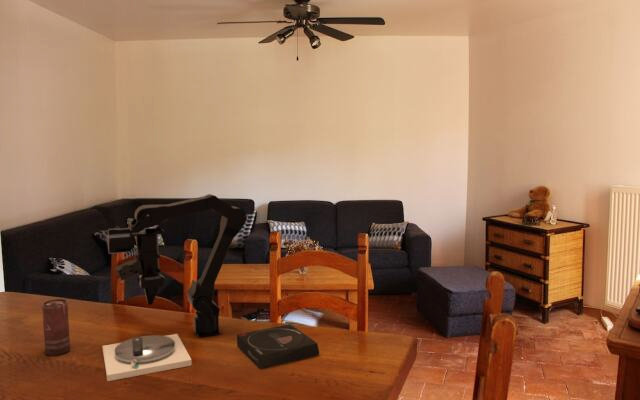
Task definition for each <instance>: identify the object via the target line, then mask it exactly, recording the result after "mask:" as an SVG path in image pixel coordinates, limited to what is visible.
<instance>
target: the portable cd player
mask: <svg viewBox="0 0 640 400" xmlns="http://www.w3.org/2000/svg"><path fill="white" fill-rule="evenodd" d="M236 345H237V346H236V348H238V349H239V350H240V351H241V352H242V353H243V354H244V355H245V356H246V357H247V358H248V359H249V361H251V362H252V363H253V364H254V365H255V366H256V368H258V369H259V370H263V369H267V368H271V367H276V366H280V365H283V363H284V364H288V363H291V362H297V361H301V360H306V359H309V358H313V357H318V356H319V354H320V349H319V345H318V342H316V341H315V340H313V338H310V337H309V336H308V335H306V334H305V333H303V332H302V331H301V330H299V329H298V328H297V327H295V326H293V325H292V324H283V325H279V326H278V325H277V326H274V327H268V328H263V329H257V330H253V331H249V332H242V333H238V334H236ZM275 365H276V366H275Z"/></svg>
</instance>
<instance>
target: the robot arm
mask: <svg viewBox="0 0 640 400" xmlns="http://www.w3.org/2000/svg"><path fill="white" fill-rule="evenodd" d="M207 210H211V211H213V212H215V213H216V214H218V215H219V216H221V219H220V222H219V233H218V236H217V238H216V241H215V242H214V245H213V246H212V247H213V248H212V249H211V250H212V251H211V253H210V255H209V257H208V259H207V262H206V264H205V266H204V269H203V271H202V274H201V276H200V277H199V278H198V279H197V280H194V279H191V284H190V286H189V288H188V290H187V291H186V293H187V300H188V302H189V304H190V305H191V307H192V308H193V309H194V310H195V312H194V313H195V317H193V331H194V333H195V334H196V335H197V336H198V338H203V337H210V336H216V335H221V331H220V325H219V324H220V322H219V320H220V319H219V313H220V309H221V308H219V306H218V305H217V304H216V302H214V300H213V299H214V295H215V294H214V293H215V285H216V284H215V283H216V281H217V278H218V276H219V274H220V271H221V269H222V266H223V264H224V261H225V260H226V257H227V254H228V252H229V250H230V247H231V245H232V243H233V240H234V238H236V236H237V235H238V234H239V233H240V232H241V231H242V228H244V227H245V226H244V225H245V224H246V223H247V219H248V217H247V214H246V212H245V211H244V209H242V208H239V207H237V206H234V205H229V204H227V203H226V202H225V201H223V200H221V199H220V198H218V196H216V195H213V194H209V193H208V194H205V195H204V196H199V197H194V198H189V199H185V200H180V201H176V202H172V203H168V204H166V203H165V204H142V205H140V206H138V207H137V208H136V209H135V211H134V218H133V219H132V221H131V222H130V223H129V225H128V226H127V227H126V228H125V227H124V228H123V227H122V228H108V229H107V232H108V233H107V237H108V239H107V251H108V255H112V254H122V253H123V254H125V253H131V250H132V251H133V249H135V248H136V253H135V254H134V256H135V258H134V259H132V260H129V261H127V262H124V263H122V264H120V265H118V266H116V267H115V271H116V272H117V275H118V277H119V279H120V281H125V280H127V278H130V277H132V276H134V275H135V276H139V278H136V281H137V282H138V285H139V287H140V289H143V291H144V294H145V298H146V302H147V304H148V306H150V305H153V304H154V301H155V299H156V296H157V293H158V292H159V290H160V289H159V288H160V287H165V286H166V278H165V276H163V275H162V274H161V268H160V258H161V255H160V252H159V235H164V234H166V232H165V230H164V229H162V228H161V226H160V224H162V223H164V222H166V221H168V220H171V219H173V218H176V217H181V216H186V215H189V214H195V213H198V212H202V211H207ZM135 237H136V242H135ZM135 245H136V246H135Z"/></svg>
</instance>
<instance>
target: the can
mask: <svg viewBox="0 0 640 400" xmlns="http://www.w3.org/2000/svg"><path fill="white" fill-rule="evenodd" d="M68 305H69V304H68V302H67V300H66V299H61V298H59V299H51V300H47V301H44V302H43V304H42V307H41V309H42V310H41V312H42V323H43V324H42V325H43V326H42V327H43V340H44V352H45V354H46V355H48V356H52V357H55V356H61V355H64V354H66V353H68V352H69V351H70V350H71V340H70V339H71V338H70V324H69V308H68Z"/></svg>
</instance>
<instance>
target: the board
mask: <svg viewBox="0 0 640 400" xmlns="http://www.w3.org/2000/svg"><path fill="white" fill-rule="evenodd" d="M165 336H166V337H169V338H171V339H173V340H174V342H175V350H174V352H173V353H172V354H170V355H169V356H167V357H165V358H163V359H160V360H157V361H153V362H148V363H139V364H135V365H131V363H124V362H121V361H118V360H117V359H116V358H115V348H116V347H117V346H118V345H119V344H120V343H121V342H117V343H112V344H108V345H106V344H105V345H102V354H103V361H104V367H105V368H104V369H105V373H106V374H105V375H106V381H107V382H111V381H118V380H120V379H128V378H133V377H137V376H142V375H147V374H148V375H149V374H154V373H159V372H164V371H170V370H174V369H179V368H181V369H182V368H184V367H192V363H193V362H192V358H191V356H190V354H189V353H188V351H187V349H186V347H185V345H184V343H183V342H182V340H181V338H180V336H179V334H178V333H173V334H168V335H165Z"/></svg>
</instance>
